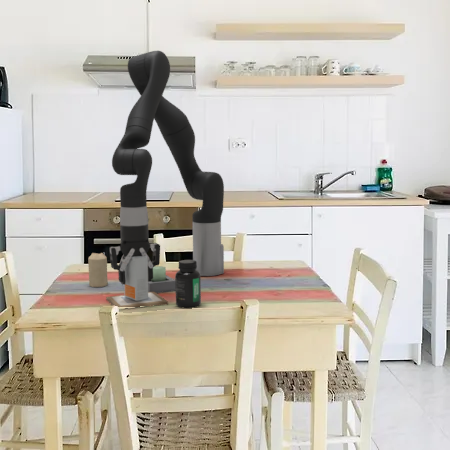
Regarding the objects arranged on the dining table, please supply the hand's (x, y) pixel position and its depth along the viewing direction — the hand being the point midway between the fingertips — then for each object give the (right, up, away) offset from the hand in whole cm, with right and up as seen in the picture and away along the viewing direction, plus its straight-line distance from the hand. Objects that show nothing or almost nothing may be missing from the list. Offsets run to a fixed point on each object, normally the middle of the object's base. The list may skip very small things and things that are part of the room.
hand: (136, 282), depth 184 cm
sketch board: (0, -5, +1) cm, 6 cm away
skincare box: (0, -5, +1) cm, 5 cm away
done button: (+5, -1, +14) cm, 15 cm away
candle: (-14, -3, +21) cm, 25 cm away
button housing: (+5, -3, +15) cm, 16 cm away
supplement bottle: (+15, -6, -3) cm, 16 cm away
